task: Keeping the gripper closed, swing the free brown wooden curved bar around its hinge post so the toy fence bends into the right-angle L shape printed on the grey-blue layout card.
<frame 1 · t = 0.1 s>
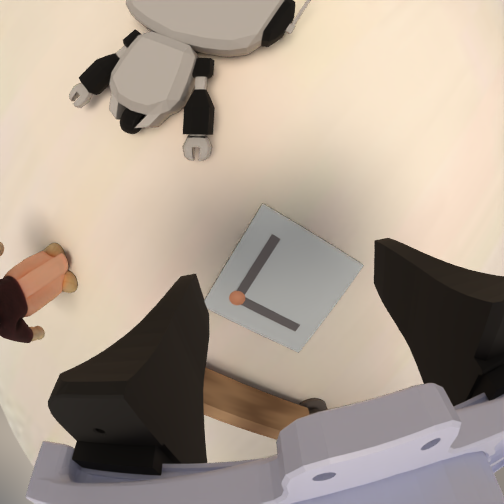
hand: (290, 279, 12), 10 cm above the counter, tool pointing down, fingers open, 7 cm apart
layout card: (282, 284, 24), on the counter
robot toy: (188, 44, 19), on the counter
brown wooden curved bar: (261, 415, 24), point 3 cm above the counter, hinge at 0.0°
grandmother figurine: (57, 262, 23), on the counter
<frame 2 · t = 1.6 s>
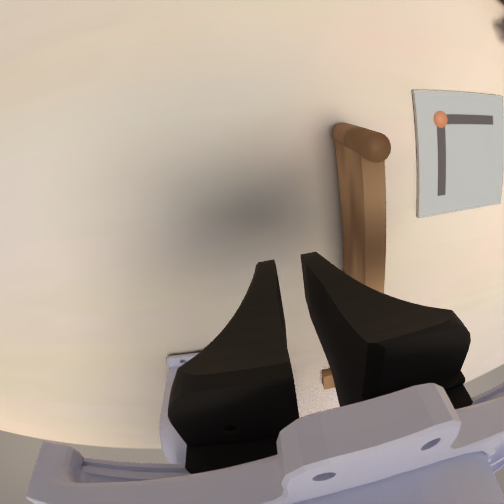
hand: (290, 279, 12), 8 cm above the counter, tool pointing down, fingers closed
layout card: (464, 151, 18), on the counter
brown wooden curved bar: (364, 244, 18), point 3 cm above the counter, hinge at 0.0°
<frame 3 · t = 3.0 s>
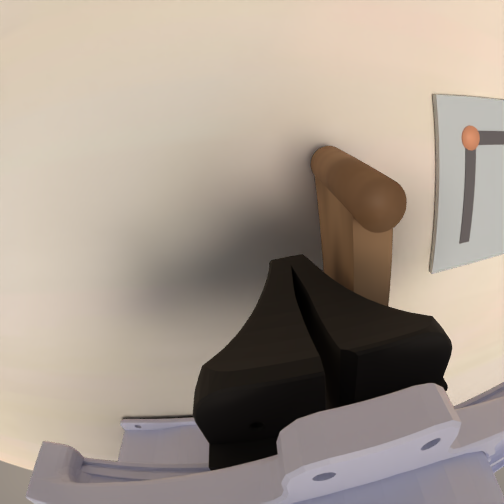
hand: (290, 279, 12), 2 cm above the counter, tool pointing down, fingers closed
layout card: (497, 182, 13), on the counter
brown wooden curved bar: (353, 330, 12), point 3 cm above the counter, hinge at 0.0°, touching gripper
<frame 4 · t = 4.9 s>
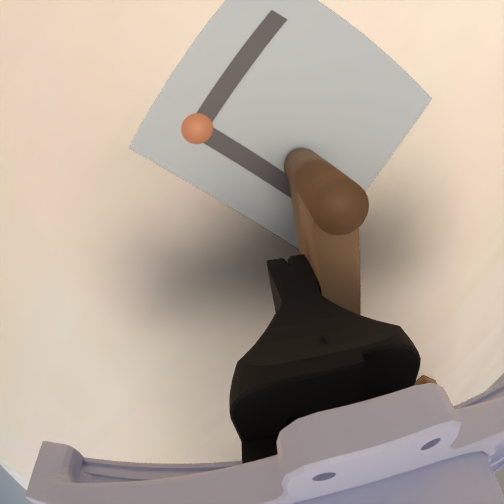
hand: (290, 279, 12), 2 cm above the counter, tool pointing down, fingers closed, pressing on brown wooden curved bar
layout card: (288, 109, 11), on the counter
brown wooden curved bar: (332, 332, 12), point 3 cm above the counter, hinge at 45.1°, touching gripper
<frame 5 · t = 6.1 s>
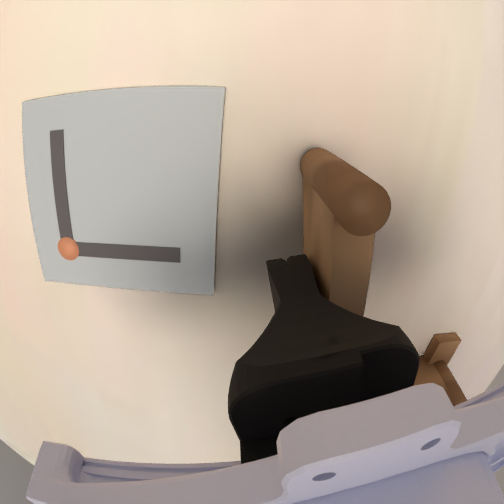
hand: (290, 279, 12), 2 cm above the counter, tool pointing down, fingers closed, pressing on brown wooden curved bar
layout card: (113, 195, 12), on the counter
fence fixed: (306, 370, 18), on the counter
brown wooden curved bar: (327, 335, 12), point 3 cm above the counter, hinge at 81.4°, touching gripper
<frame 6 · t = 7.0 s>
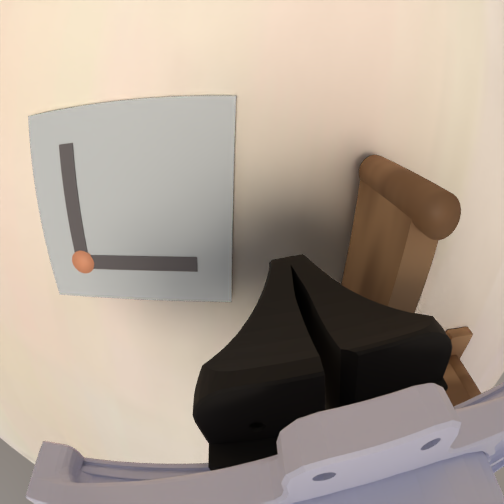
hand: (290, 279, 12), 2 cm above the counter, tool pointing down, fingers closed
layout card: (126, 207, 13), on the counter
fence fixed: (323, 371, 18), on the counter
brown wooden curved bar: (366, 334, 12), point 3 cm above the counter, hinge at 90.0°
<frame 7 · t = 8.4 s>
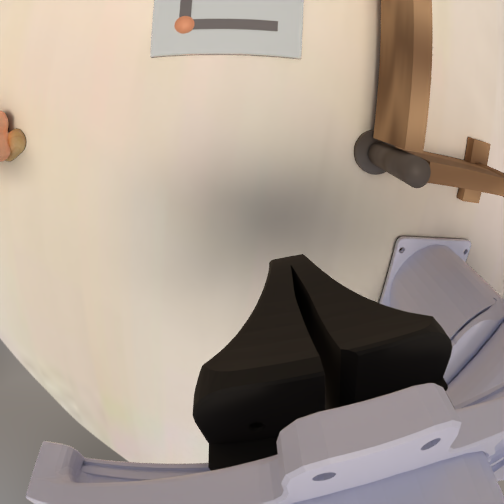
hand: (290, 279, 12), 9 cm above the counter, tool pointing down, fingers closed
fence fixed: (374, 151, 19), on the counter
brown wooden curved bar: (406, 63, 14), point 3 cm above the counter, hinge at 90.1°
grandmother figurine: (3, 132, 17), on the counter
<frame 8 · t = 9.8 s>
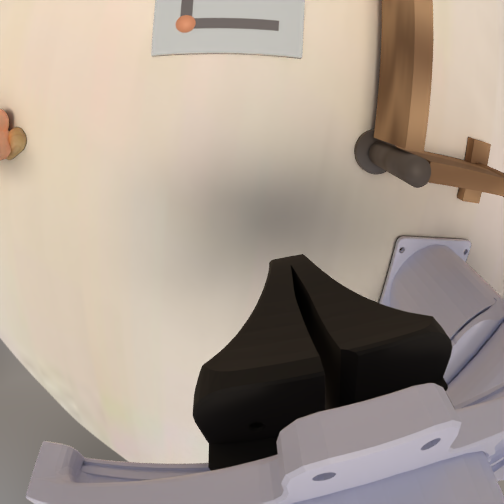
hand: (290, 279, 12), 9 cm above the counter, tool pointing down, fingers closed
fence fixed: (375, 151, 19), on the counter
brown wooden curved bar: (407, 63, 14), point 3 cm above the counter, hinge at 90.1°
grandmother figurine: (3, 131, 17), on the counter
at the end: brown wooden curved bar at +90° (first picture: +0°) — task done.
